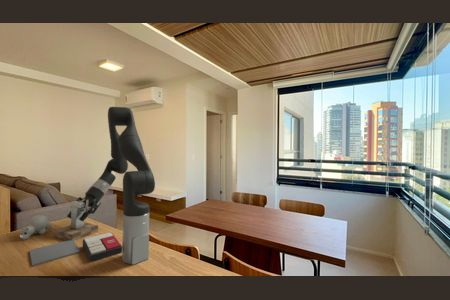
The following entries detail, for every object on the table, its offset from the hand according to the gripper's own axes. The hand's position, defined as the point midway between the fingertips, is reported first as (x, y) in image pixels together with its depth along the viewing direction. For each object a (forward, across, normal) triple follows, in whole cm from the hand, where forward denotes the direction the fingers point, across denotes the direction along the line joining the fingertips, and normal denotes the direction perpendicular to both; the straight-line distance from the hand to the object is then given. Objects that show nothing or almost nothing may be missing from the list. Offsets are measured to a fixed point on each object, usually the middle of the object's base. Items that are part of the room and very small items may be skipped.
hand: (74, 218), depth 97 cm
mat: (+15, +9, -4) cm, 18 cm away
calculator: (+9, +24, +3) cm, 26 cm away
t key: (+4, 0, +6) cm, 8 cm away
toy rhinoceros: (+11, -15, 0) cm, 19 cm away
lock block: (+4, 0, +6) cm, 8 cm away
